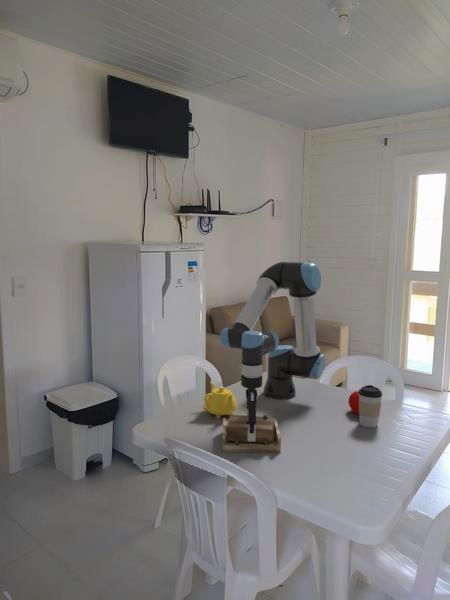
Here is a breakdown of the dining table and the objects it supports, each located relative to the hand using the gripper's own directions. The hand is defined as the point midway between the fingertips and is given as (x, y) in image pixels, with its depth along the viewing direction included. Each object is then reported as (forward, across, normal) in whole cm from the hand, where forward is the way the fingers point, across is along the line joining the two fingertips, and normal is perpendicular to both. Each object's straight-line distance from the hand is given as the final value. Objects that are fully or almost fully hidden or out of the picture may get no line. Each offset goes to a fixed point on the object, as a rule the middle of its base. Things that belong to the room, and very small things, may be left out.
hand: (250, 433), depth 162 cm
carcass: (+3, 0, 0) cm, 3 cm away
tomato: (+3, -30, +49) cm, 58 cm away
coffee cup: (+3, -18, +48) cm, 51 cm away
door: (+1, 0, 0) cm, 1 cm away
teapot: (+3, -26, -12) cm, 29 cm away
